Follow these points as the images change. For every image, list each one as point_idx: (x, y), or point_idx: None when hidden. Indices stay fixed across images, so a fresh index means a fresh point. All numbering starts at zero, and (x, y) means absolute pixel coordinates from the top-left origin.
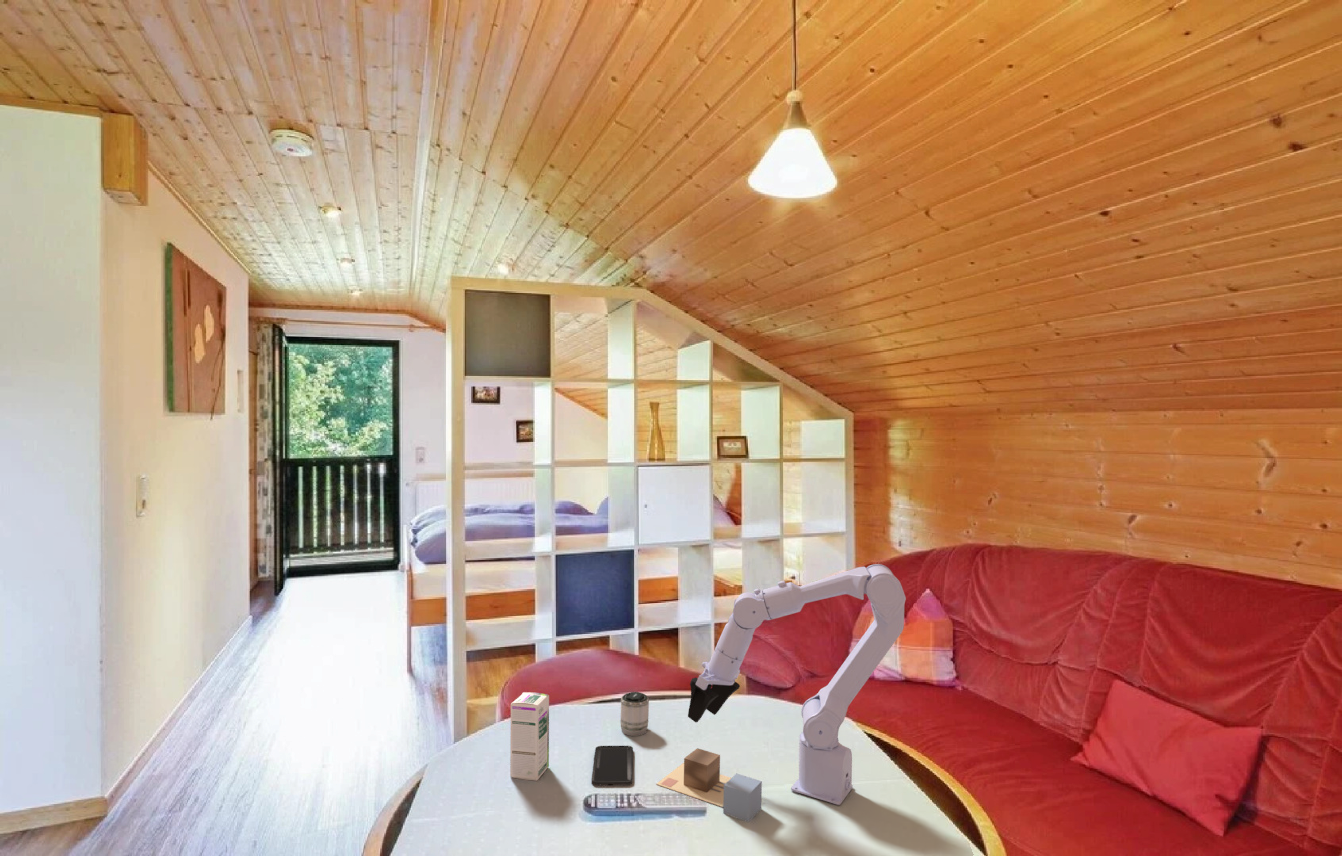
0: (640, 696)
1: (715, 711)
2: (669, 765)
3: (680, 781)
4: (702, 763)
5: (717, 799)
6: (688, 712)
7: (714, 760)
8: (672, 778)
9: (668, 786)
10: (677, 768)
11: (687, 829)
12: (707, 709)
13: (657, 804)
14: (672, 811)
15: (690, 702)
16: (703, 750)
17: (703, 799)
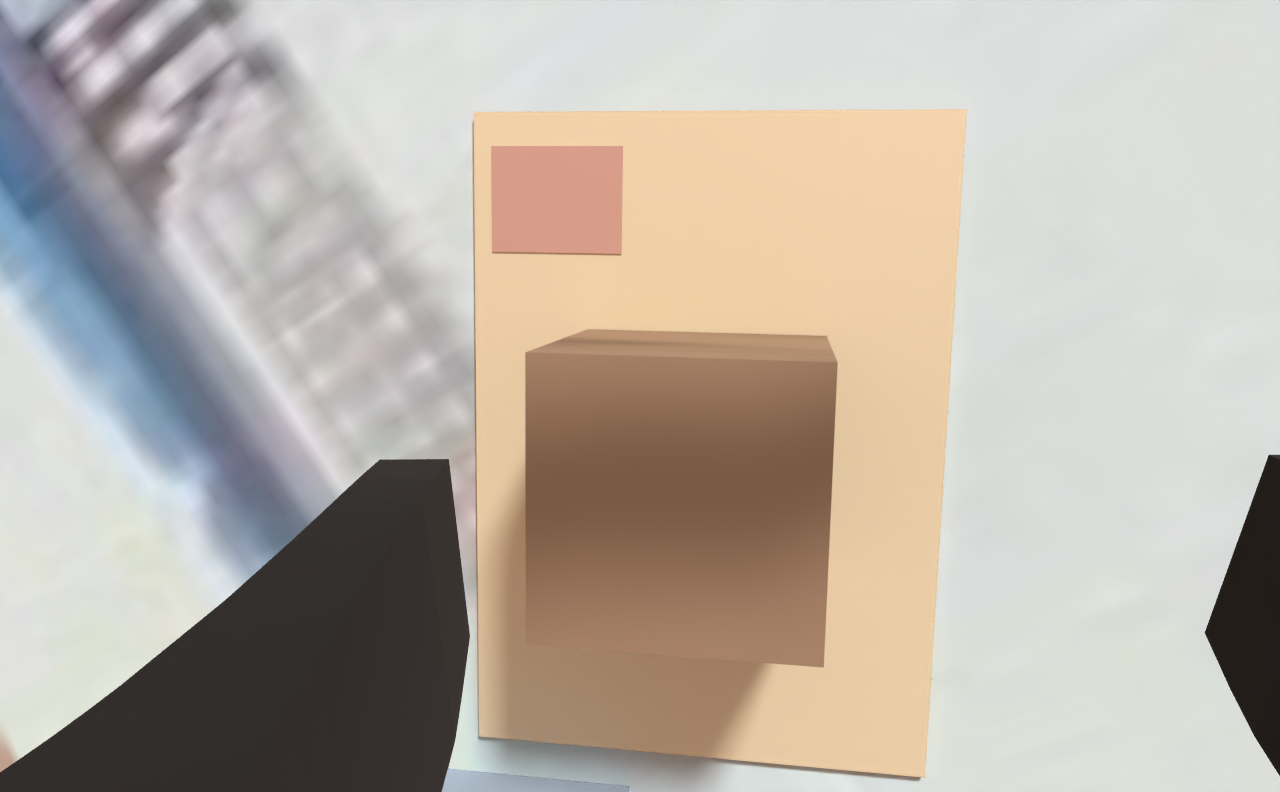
0: None
1: (1245, 686)
2: (854, 9)
3: (624, 274)
4: (531, 582)
5: (542, 669)
6: (344, 493)
7: (690, 651)
8: (631, 184)
9: (490, 230)
10: (826, 120)
11: (114, 633)
12: (1261, 490)
13: (238, 292)
14: (227, 440)
15: (160, 658)
16: (823, 454)
17: (485, 573)
